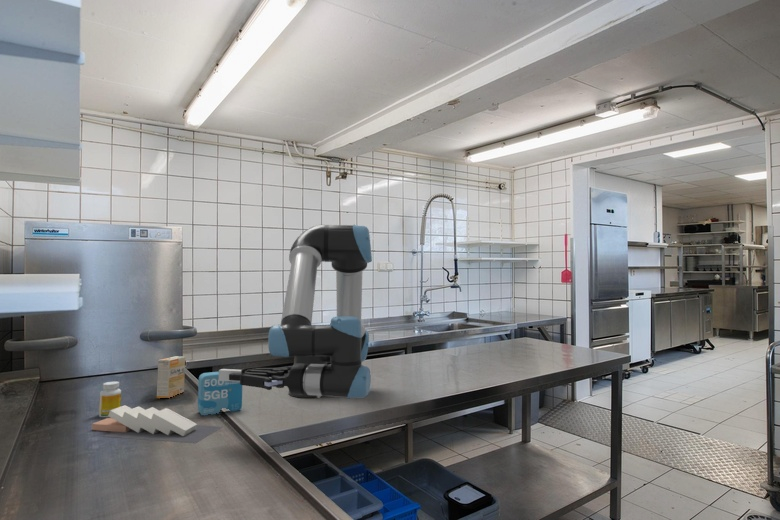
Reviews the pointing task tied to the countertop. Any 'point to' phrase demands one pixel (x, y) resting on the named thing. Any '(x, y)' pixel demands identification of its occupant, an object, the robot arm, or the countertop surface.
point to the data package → (218, 394)
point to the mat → (191, 437)
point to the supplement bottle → (109, 398)
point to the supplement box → (170, 376)
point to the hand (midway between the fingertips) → (220, 374)
